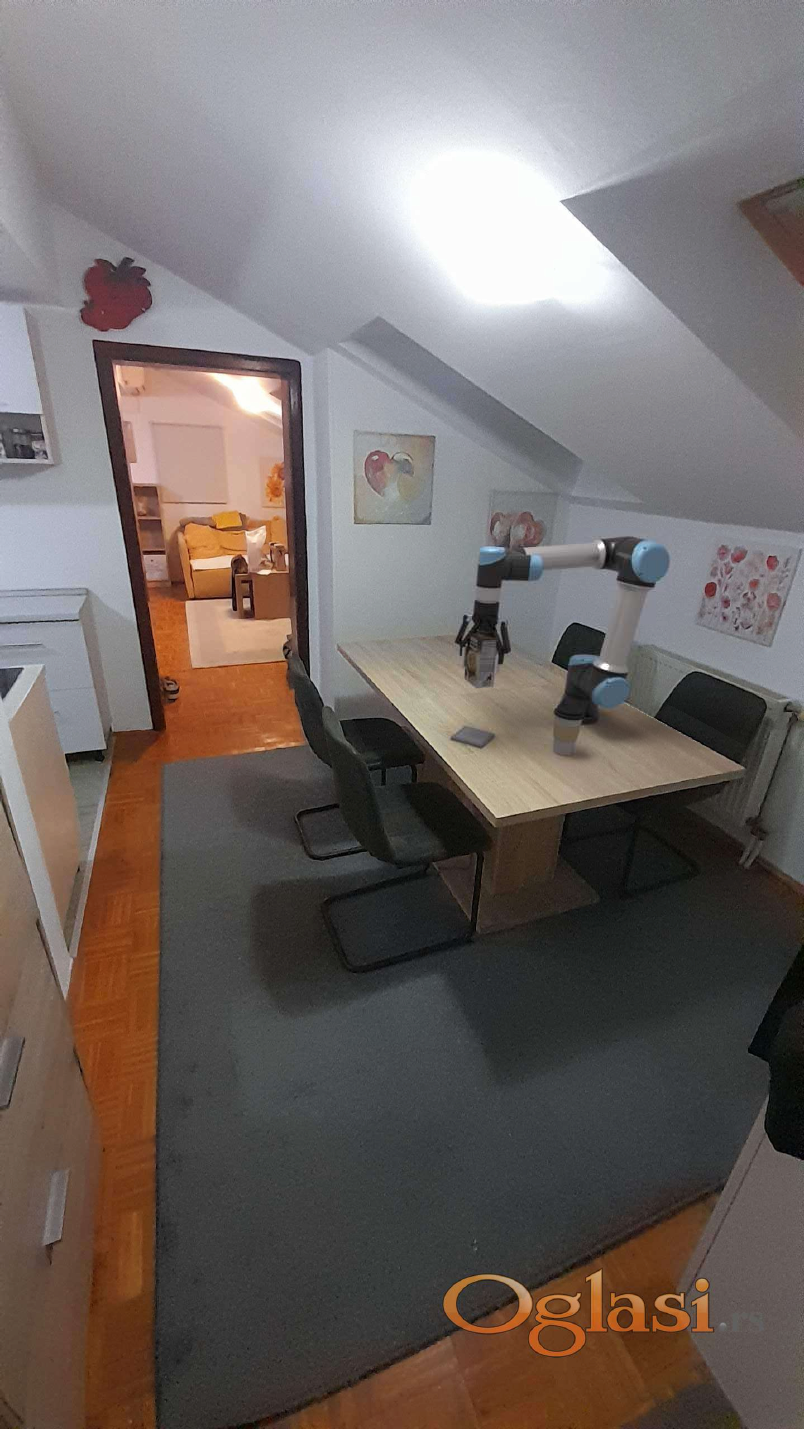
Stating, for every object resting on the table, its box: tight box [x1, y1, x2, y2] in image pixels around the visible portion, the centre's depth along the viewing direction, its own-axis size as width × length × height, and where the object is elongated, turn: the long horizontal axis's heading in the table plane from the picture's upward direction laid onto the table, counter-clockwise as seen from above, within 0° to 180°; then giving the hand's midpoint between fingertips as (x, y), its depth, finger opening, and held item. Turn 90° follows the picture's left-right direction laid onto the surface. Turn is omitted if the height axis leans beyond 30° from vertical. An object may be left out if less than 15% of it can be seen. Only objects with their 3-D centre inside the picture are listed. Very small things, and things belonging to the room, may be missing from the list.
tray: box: [450, 725, 495, 749], centre depth 194 cm, size 11×11×1 cm
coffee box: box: [463, 630, 500, 689], centre depth 184 cm, size 9×6×16 cm
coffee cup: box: [552, 704, 585, 756], centre depth 185 cm, size 9×9×15 cm
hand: (479, 669), depth 185 cm, fingers closed on coffee box, 10 cm apart
